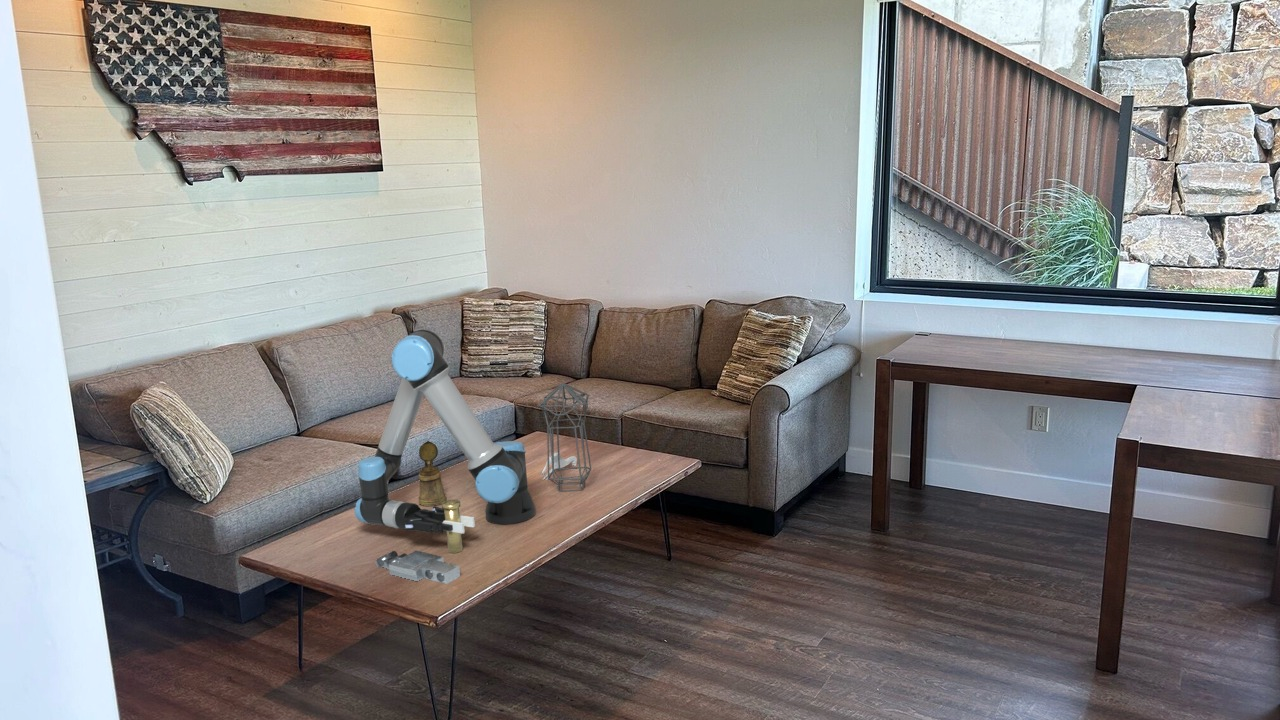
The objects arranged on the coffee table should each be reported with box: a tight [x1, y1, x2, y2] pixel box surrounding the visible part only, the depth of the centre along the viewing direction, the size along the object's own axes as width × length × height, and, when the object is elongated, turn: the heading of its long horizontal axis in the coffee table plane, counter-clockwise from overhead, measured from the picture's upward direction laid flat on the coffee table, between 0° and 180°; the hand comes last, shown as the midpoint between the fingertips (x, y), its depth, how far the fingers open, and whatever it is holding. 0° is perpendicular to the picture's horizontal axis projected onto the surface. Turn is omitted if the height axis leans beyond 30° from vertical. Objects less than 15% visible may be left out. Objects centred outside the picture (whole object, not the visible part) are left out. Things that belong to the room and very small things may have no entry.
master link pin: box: [441, 498, 464, 554], centre depth 258 cm, size 5×5×14 cm
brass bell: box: [418, 440, 448, 507], centre depth 300 cm, size 9×14×18 cm, turn 11°
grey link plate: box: [374, 550, 461, 585], centre depth 247 cm, size 26×10×3 cm, turn 58°
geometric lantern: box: [537, 382, 592, 492], centre depth 304 cm, size 16×16×35 cm
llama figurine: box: [540, 452, 578, 481], centre depth 322 cm, size 2×11×18 cm
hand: (468, 525), depth 255 cm, fingers closed on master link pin, 4 cm apart
